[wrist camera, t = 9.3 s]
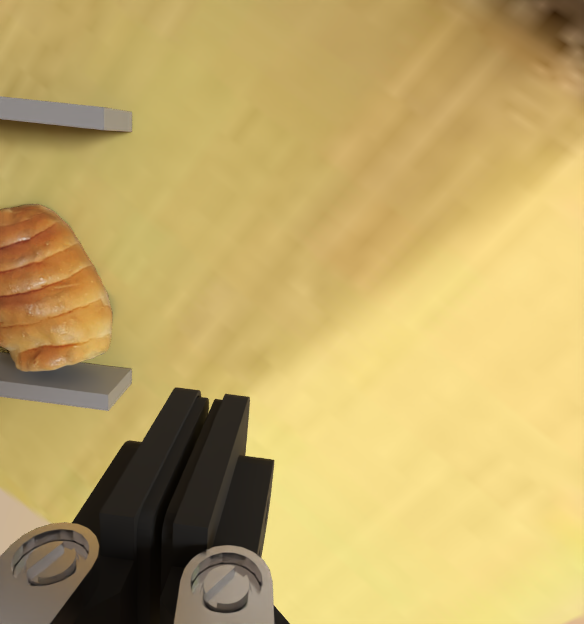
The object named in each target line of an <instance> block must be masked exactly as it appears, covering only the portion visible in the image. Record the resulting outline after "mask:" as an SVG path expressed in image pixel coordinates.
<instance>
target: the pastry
mask: <svg viewBox="0 0 584 624" xmlns="http://www.w3.org/2000/svg"><path fill="white" fill-rule="evenodd" d="M112 314H113V312H112V309H111V306H110V302H109V297H108V293H107V291H106V289H105V288H104V286H103V284H102V281H101V279H100V277H99V275H98V274H97V272H96V269H95V267H94V265H93V264H92V262H91V261H90V259H89V257H88V256H87V254H86V252H85V251H84V249H83V247H82V245H81V243H80V242H79V240H78V238H77V237H76V235H75V234H74V232H73V231H72V229H71V228H70V226H69V225H68V224H67V223H66V222H64V221H63V220H62V219H61V218H60V217H59V216H58V215H57V214H56V213H55V212H54V211H52V210H51V209H49V208H47V207H44V206H42V205H39V204H29V205H22V206H18V207H13V208H5V209H2V210H0V346H1V347H3V348H5V349H7V350H9V352H10V355H11V358H12V359H13V361H14V362H15V365H16V368H17V369H19V370H21V371H25V372H28V371H49V370H56V369H58V368H61V367H63V366H66V365H74V364H77V363H79V362H82V361H85V360H88V359H92V358H94V357H96V356H98V355H101V354H103V353H105V352H106V351H107V350H108V348H109V346H110V342H111V334H112Z"/></svg>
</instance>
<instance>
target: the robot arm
mask: <svg viewBox="0 0 584 624" xmlns="http://www.w3.org/2000/svg"><path fill="white" fill-rule="evenodd" d="M249 405H250V398H249V397H246V396H238V395H230V394H225V395H224V398H223V400H219V399H215V400H214V402H213V404H212V407H211V409H210V411H209V414H208V410H209V399H208V398H203V397H201V392H200V391H199V390H192V389H184V388H174V390H173V391H172V393H171V395H170V396H169V398H168V400H167V401H166V403H165V405H164V406H163V408H162V410H161V411H160V413H159V415H158V416H157V418H156V420H155V421H154V423H153V425H152V426H151V428H150V430H149V431H148V433H147V435H146V436H145V438H144V440H143V441H142V442H137V441H127V442H125V443H124V445H123V446H122V447H121V449H120V450H119V452H118V453H117V455H116V456H115V458H114V459H113V461H112V463H111V464H110V466H109V467H108V469H107V470H106V472H105V473H104V475H103V476H102V478H101V479H100V481H99V482H98V484H97V485H96V487H95V488H94V490H93V492H92V493H91V495H90V496H89V498H88V499H87V501H86V502H85V504H84V505H83V507H82V508H81V510H80V511H79V513H78V514H77V516H76V517H75V519H74V521H73V522H72V523H67V522H64V523H54V524H49V525H45V526H42V527H39V528H36V529H34V530H32V531H30V532H28V533H26V534H25V535H23V536H22V537H20V538H19V539H18V540H17V541H15V542H14V543H13V544H12V545H11V546H10V547H9V548H8V549H7V550H6V551H5V552H4V553H3V554H2V555H1V556H0V624H290V623H289V622H288V621H287V620H286V619H285V618H284V616H283V615H282V614H281V613H280V612H279V611H278V610H277V608H276V607H275V606H274V605H273V583H272V577H271V573H270V570H269V568H268V566H267V565H266V563H265V562H264V560H263V559H262V558H261V556H262V550H263V544H264V538H265V532H266V525H267V519H268V512H269V504H270V497H271V488H272V479H273V470H274V460H271V459H264V458H256V457H249V456H245V453H246V441H247V429H248V417H249Z"/></svg>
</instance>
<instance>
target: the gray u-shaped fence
mask: <svg viewBox="0 0 584 624" xmlns="http://www.w3.org/2000/svg"><path fill="white" fill-rule="evenodd" d="M0 119H5V120H15V121H24V122H33V123H43V124H52V125H61V126H71V127H80V128H89V129H99V130H111V131H127V132H132V112H129V111H123V110H117V109H111V108H105V107H95V106H86V105H76V104H67V103H57V102H48V101H38V100H29V99H19V98H10V97H0ZM131 383H132V369H129V368H121V367H113V366H105V365H97V364H89V363H81V362H79V363H77V364H74V365H66V366H63V367H61V368H58V369H56V370H49V371H28V372H25V371H21V370H19V369H17V368H16V365H15V362H14V361H13V359H12V358H11V355H10V353H2V352H0V397H7V398H15V399H22V400H30V401H38V402H45V403H53V404H61V405H68V406H76V407H84V408H92V409H99V410H107V411H109V409H110V408H111V407H112V406H113V405H114V404H115V402H116V401H117V400H118V399H119V398H120V396H121V395H122V394H123V393H124V392H125V391H126V389H127V388H128V387H129V386H130V385H131Z"/></svg>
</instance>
